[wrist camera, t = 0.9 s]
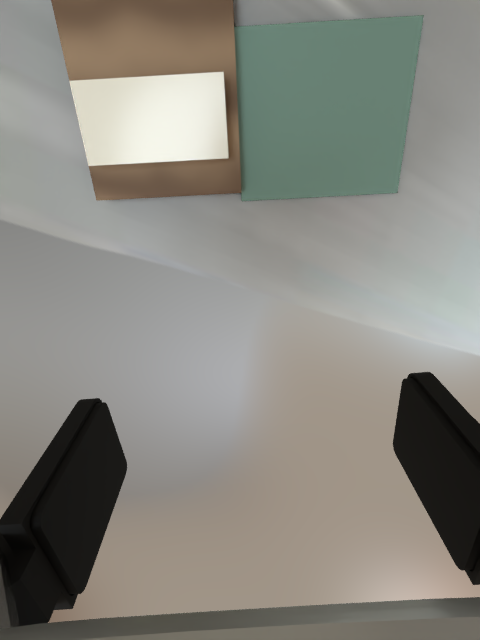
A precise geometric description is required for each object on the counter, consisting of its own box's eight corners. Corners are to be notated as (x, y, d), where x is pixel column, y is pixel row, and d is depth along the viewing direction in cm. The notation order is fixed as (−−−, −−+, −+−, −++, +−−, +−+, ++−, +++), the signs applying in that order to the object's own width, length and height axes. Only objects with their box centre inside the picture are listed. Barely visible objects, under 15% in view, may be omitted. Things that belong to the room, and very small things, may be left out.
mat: (233, 27, 28) (233, 26, 28) (421, 16, 28) (423, 15, 28) (241, 200, 34) (241, 201, 34) (396, 192, 34) (397, 192, 34)
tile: (82, 87, 28) (69, 80, 26) (224, 79, 28) (223, 71, 25) (99, 165, 30) (88, 166, 28) (229, 158, 30) (228, 158, 28)
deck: (61, -9, 27) (45, -24, 25) (231, -20, 27) (231, -36, 25) (105, 197, 34) (96, 200, 32) (241, 190, 34) (241, 192, 32)
